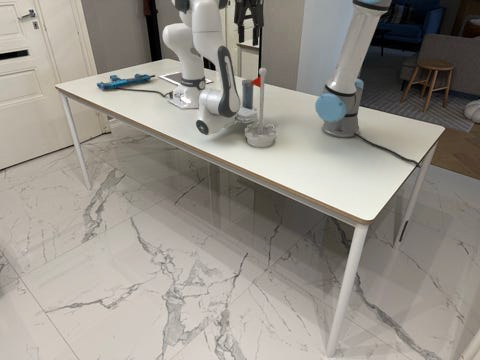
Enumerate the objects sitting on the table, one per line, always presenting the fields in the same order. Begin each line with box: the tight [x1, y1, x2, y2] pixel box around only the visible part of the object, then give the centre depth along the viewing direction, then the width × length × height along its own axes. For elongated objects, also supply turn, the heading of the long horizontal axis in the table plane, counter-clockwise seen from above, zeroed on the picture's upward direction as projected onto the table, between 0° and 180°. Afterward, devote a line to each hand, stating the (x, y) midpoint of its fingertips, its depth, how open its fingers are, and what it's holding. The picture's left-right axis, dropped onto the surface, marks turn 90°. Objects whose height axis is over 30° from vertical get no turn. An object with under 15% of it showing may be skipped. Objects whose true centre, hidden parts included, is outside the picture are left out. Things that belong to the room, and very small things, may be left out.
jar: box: [241, 85, 254, 110], centre depth 155 cm, size 5×5×18 cm
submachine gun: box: [96, 73, 156, 91], centre depth 208 cm, size 34×4×25 cm
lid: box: [241, 78, 255, 87], centre depth 150 cm, size 5×5×2 cm
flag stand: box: [244, 67, 278, 148], centre depth 133 cm, size 13×13×30 cm
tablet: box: [157, 70, 214, 86], centre depth 214 cm, size 32×20×1 cm, turn 41°
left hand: (247, 106), depth 156 cm, fingers open, 8 cm apart
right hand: (248, 43), depth 141 cm, fingers open, 7 cm apart
